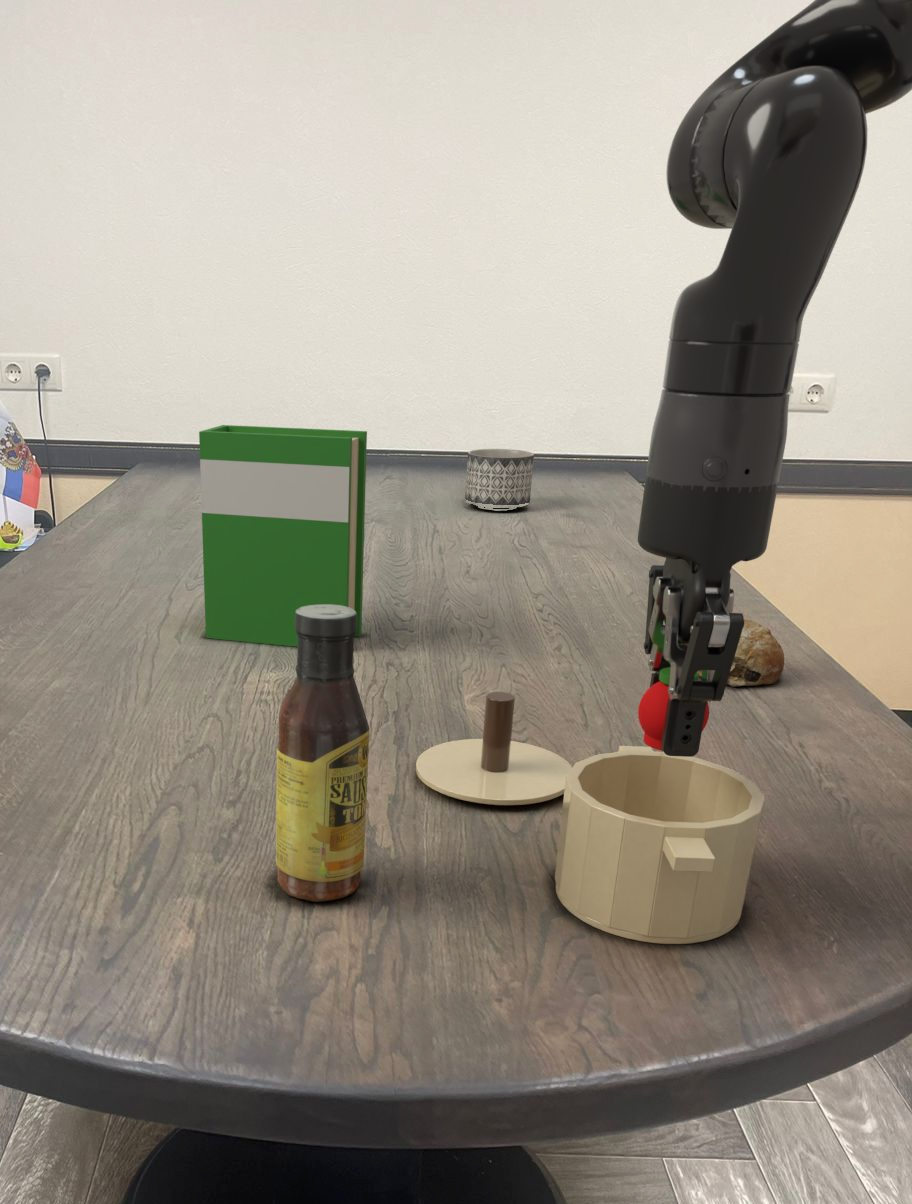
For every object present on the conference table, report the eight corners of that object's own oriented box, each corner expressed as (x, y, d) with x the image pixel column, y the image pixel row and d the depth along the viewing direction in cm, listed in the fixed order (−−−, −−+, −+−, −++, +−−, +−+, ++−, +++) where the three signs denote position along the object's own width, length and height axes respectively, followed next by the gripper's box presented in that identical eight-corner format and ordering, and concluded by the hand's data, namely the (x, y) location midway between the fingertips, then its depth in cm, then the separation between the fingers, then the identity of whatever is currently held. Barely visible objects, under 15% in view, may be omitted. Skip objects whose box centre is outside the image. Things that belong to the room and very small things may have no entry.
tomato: (693, 732, 75) (705, 663, 73) (711, 757, 71) (724, 684, 69) (628, 730, 75) (637, 661, 73) (641, 755, 71) (652, 682, 69)
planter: (526, 503, 223) (531, 449, 219) (531, 514, 212) (536, 458, 207) (463, 501, 224) (467, 448, 220) (465, 512, 213) (469, 456, 209)
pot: (704, 842, 86) (722, 739, 82) (778, 971, 69) (805, 850, 66) (540, 836, 86) (551, 734, 83) (575, 963, 70) (590, 843, 66)
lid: (561, 751, 102) (570, 673, 99) (584, 815, 90) (595, 727, 87) (413, 747, 103) (417, 669, 100) (417, 809, 91) (421, 722, 87)
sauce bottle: (342, 914, 75) (349, 630, 67) (260, 894, 77) (257, 617, 69) (377, 873, 80) (388, 605, 72) (300, 855, 83) (301, 594, 75)
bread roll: (693, 714, 122) (717, 660, 116) (668, 651, 128) (688, 597, 122) (780, 712, 123) (808, 659, 117) (750, 649, 129) (775, 596, 123)
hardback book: (361, 634, 137) (367, 431, 126) (345, 651, 130) (349, 438, 120) (227, 622, 141) (222, 424, 131) (205, 637, 135) (199, 431, 125)
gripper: (819, 493, 59) (760, 786, 66) (741, 457, 72) (700, 705, 79) (676, 489, 59) (633, 781, 67) (625, 454, 72) (594, 702, 79)
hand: (670, 738), depth 73 cm, fingers closed on tomato, 4 cm apart
